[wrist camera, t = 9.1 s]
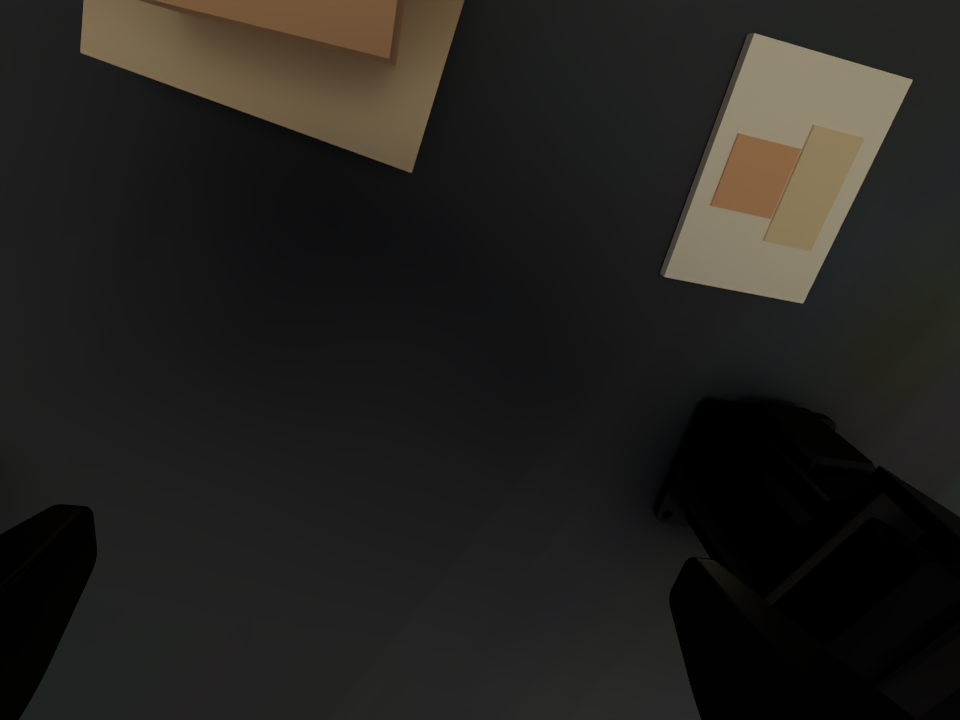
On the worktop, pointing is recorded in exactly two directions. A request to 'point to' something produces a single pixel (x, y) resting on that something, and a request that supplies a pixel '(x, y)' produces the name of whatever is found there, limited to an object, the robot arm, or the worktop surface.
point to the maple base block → (287, 72)
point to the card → (781, 169)
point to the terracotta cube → (310, 22)
